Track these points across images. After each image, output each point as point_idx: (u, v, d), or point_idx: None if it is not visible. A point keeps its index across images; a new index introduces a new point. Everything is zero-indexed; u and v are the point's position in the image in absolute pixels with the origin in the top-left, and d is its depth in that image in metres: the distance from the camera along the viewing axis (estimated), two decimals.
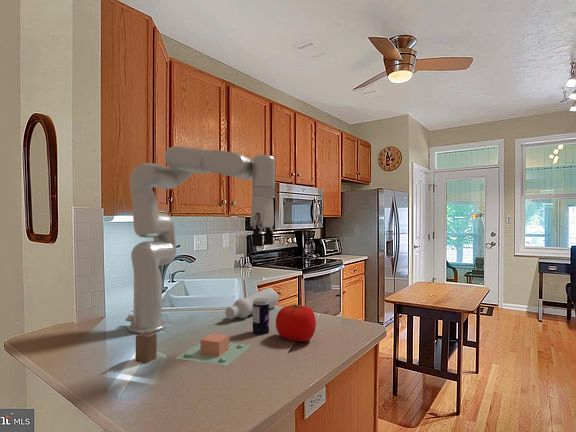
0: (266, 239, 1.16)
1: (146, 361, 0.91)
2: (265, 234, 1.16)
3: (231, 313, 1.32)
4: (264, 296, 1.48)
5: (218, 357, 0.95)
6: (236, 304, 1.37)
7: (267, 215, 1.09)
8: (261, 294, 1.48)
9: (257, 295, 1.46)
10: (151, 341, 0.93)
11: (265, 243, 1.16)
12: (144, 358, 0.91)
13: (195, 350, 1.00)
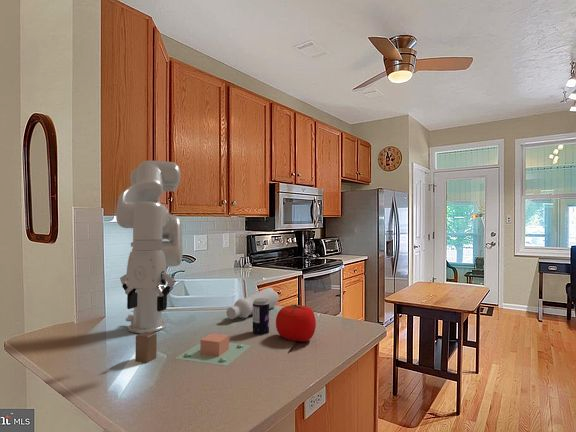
0: (132, 302, 0.94)
1: (146, 361, 0.91)
2: (131, 296, 0.94)
3: (232, 314, 1.32)
4: (264, 296, 1.48)
5: (218, 357, 0.95)
6: (237, 304, 1.37)
7: None
8: (261, 294, 1.48)
9: (257, 295, 1.46)
10: (151, 341, 0.93)
11: (130, 307, 0.94)
12: (144, 358, 0.91)
13: (195, 350, 1.00)
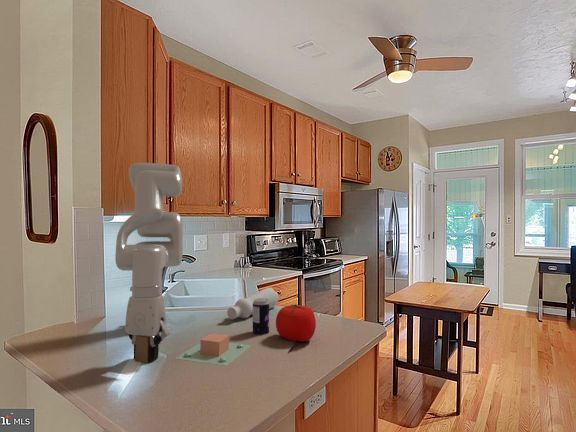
0: None
1: (146, 361, 0.91)
2: None
3: (233, 314, 1.32)
4: (265, 296, 1.48)
5: (218, 357, 0.95)
6: (238, 304, 1.37)
7: None
8: (262, 294, 1.48)
9: (258, 295, 1.46)
10: None
11: None
12: (144, 358, 0.91)
13: (195, 350, 1.00)
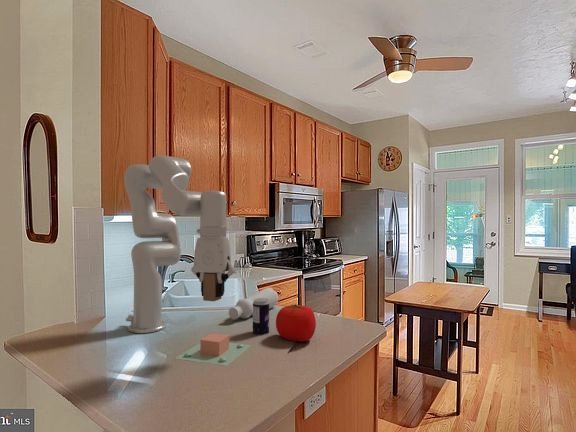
0: None
1: (214, 296, 0.97)
2: None
3: (235, 314, 1.32)
4: (265, 296, 1.48)
5: (218, 357, 0.95)
6: (239, 304, 1.37)
7: None
8: (262, 294, 1.48)
9: (258, 295, 1.46)
10: None
11: None
12: (212, 294, 0.97)
13: (195, 350, 1.00)
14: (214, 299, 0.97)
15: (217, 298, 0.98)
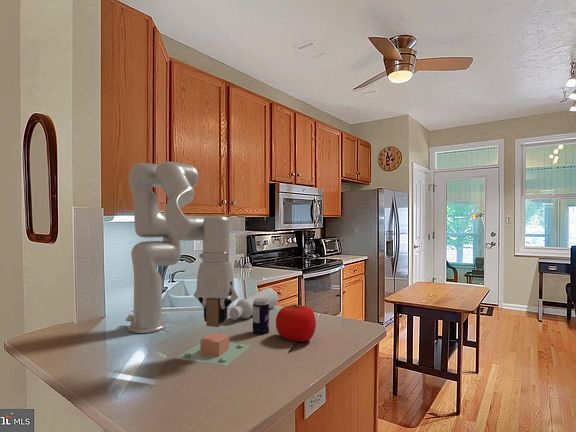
0: None
1: (217, 322, 0.97)
2: None
3: (235, 314, 1.31)
4: (265, 296, 1.48)
5: (218, 357, 0.95)
6: (239, 304, 1.37)
7: None
8: (262, 294, 1.48)
9: (258, 295, 1.46)
10: None
11: None
12: (215, 319, 0.97)
13: (195, 350, 1.00)
14: (217, 325, 0.97)
15: (220, 323, 0.98)
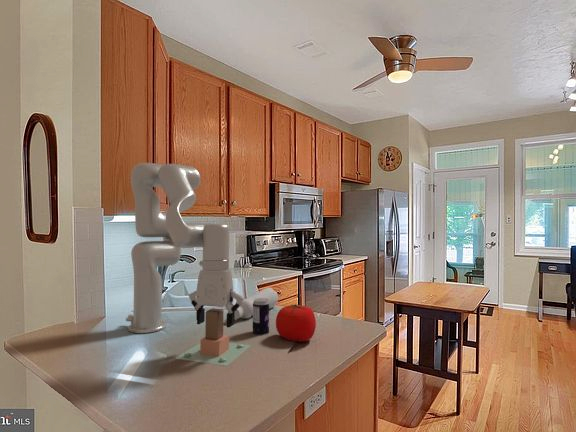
0: (201, 317, 1.00)
1: (217, 335, 0.97)
2: (200, 312, 1.00)
3: (236, 314, 1.31)
4: (265, 296, 1.48)
5: (218, 357, 0.95)
6: None
7: None
8: (262, 294, 1.48)
9: (259, 295, 1.46)
10: (220, 316, 0.99)
11: (200, 322, 1.00)
12: (214, 332, 0.97)
13: (195, 350, 1.00)
14: (217, 337, 0.97)
15: (219, 336, 0.99)
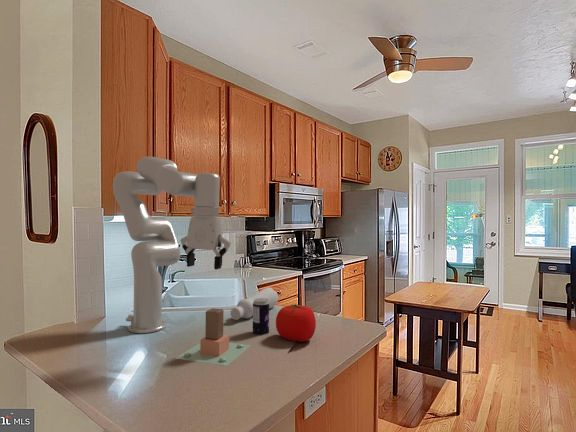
0: (190, 260, 1.07)
1: (217, 335, 0.97)
2: (190, 255, 1.07)
3: (237, 314, 1.31)
4: (266, 296, 1.48)
5: (218, 357, 0.95)
6: (240, 304, 1.36)
7: None
8: (263, 294, 1.48)
9: (259, 295, 1.46)
10: (220, 316, 0.99)
11: (189, 265, 1.07)
12: (214, 332, 0.97)
13: (195, 350, 1.00)
14: (217, 337, 0.97)
15: (219, 336, 0.99)
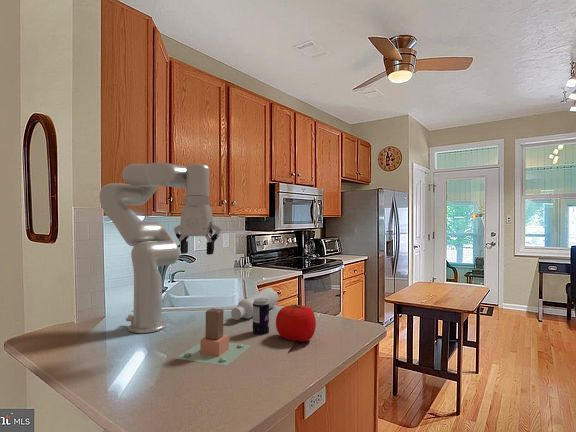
0: (184, 248, 1.13)
1: (217, 335, 0.97)
2: (183, 243, 1.13)
3: (237, 314, 1.31)
4: (266, 296, 1.48)
5: (218, 357, 0.95)
6: (241, 305, 1.36)
7: None
8: (263, 294, 1.48)
9: (259, 295, 1.46)
10: (220, 316, 0.99)
11: (183, 252, 1.13)
12: (214, 332, 0.97)
13: (195, 350, 1.00)
14: (217, 337, 0.97)
15: (219, 336, 0.99)
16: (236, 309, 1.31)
